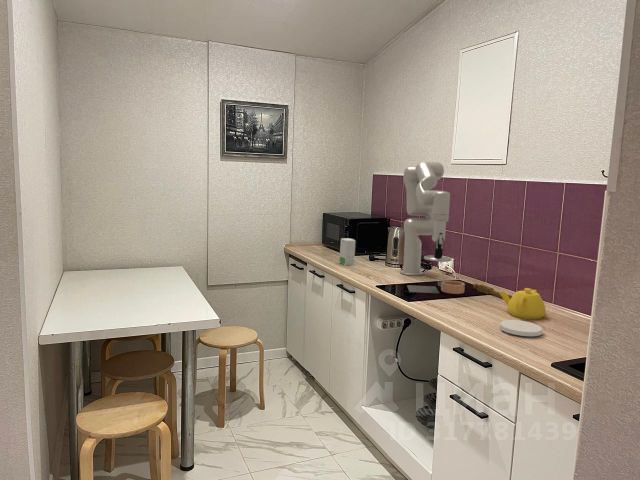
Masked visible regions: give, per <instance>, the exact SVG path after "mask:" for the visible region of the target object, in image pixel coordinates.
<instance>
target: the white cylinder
mask: <svg viewBox="0 0 640 480" xmlns="http://www.w3.org/2000/svg"><path fill="white" fill-rule="evenodd" d="M356 241H357V240H355V239H354V238H349V237H347V238H344V237H343V238H340V245H339V246H340V247H339V260H338V261H339V262H340V263H339V264H341V263H342V264H341V265H343V264H344V265H343V266H345V265H346V266H354V265H355V254H356V244H357V243H356ZM353 264H354V265H353Z"/></svg>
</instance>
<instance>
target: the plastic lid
mask: <svg viewBox="0 0 640 480" xmlns="http://www.w3.org/2000/svg"><path fill="white" fill-rule="evenodd" d="M499 329H500V330H501V331H503V332H505V333H508V334H511V335H515V336H521V337H538V336H541V335H542V334H543V327H542V326H541V325H538V324H536V323H534V322H530V321H525V320H520V319H519V320H518V319H517V320H516V319H515V320H514V319H508V320H506V319H505V320H502V321H500V323H499Z"/></svg>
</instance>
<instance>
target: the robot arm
mask: <svg viewBox="0 0 640 480" xmlns="http://www.w3.org/2000/svg"><path fill="white" fill-rule="evenodd" d="M444 169H445V168H444V165H443V164H442V163H440V162H436V161H435V162H434V161H432V162H431V161H422V162H419V163H417V165H413V166H408V167H406V168H405V169H404V170H403V182H404V183H403V184H404V186H405V189H406V212H407V215H409V216H417V217H410V218H406V219H405V220H404V222H403V230H404V248H403V249H404V251H403V265H402V268H403V269H401V270H400V271H399V273H400V274H401V275H405V276H411V277H412V276H415V277H416V276H422V275H424V272H423V271H422V270H421V266H422V265H421V264H422V247H423V246H422V245H423V244H422V240H421V239H420V238H419V236H431V240H432V241H433V242H434V248H435V247H436V249H435V257H442V256H443V243H444V242H445V240H446V230H447V229H446V228H447V225H446V224H447V222H449V220H450V219H449V217H450V215H449V214H450V204H451V203H450V201H451V194H450V192H448V191H444V190H434V189H433V188H435V187H436V186H437V184H438V180H441V178H442V177H443V176H444V172H445V170H444ZM431 189H433V190H431ZM418 216H422V217H418ZM424 217H425V218H424ZM434 248H433V249H434Z"/></svg>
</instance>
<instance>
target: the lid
mask: <svg viewBox="0 0 640 480" xmlns="http://www.w3.org/2000/svg"><path fill="white" fill-rule="evenodd" d="M434 247H435V246H434ZM435 249H436V247H435V248H433V254H432V255H431V254H429V255H424V256H423V259H424V260H427V261H430V262H431V261H432V262H440V263H441V262H443V263H444V262H452V260H453V259H452V257H451V256H446V255H445V256H444V255H442V257H435Z"/></svg>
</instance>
